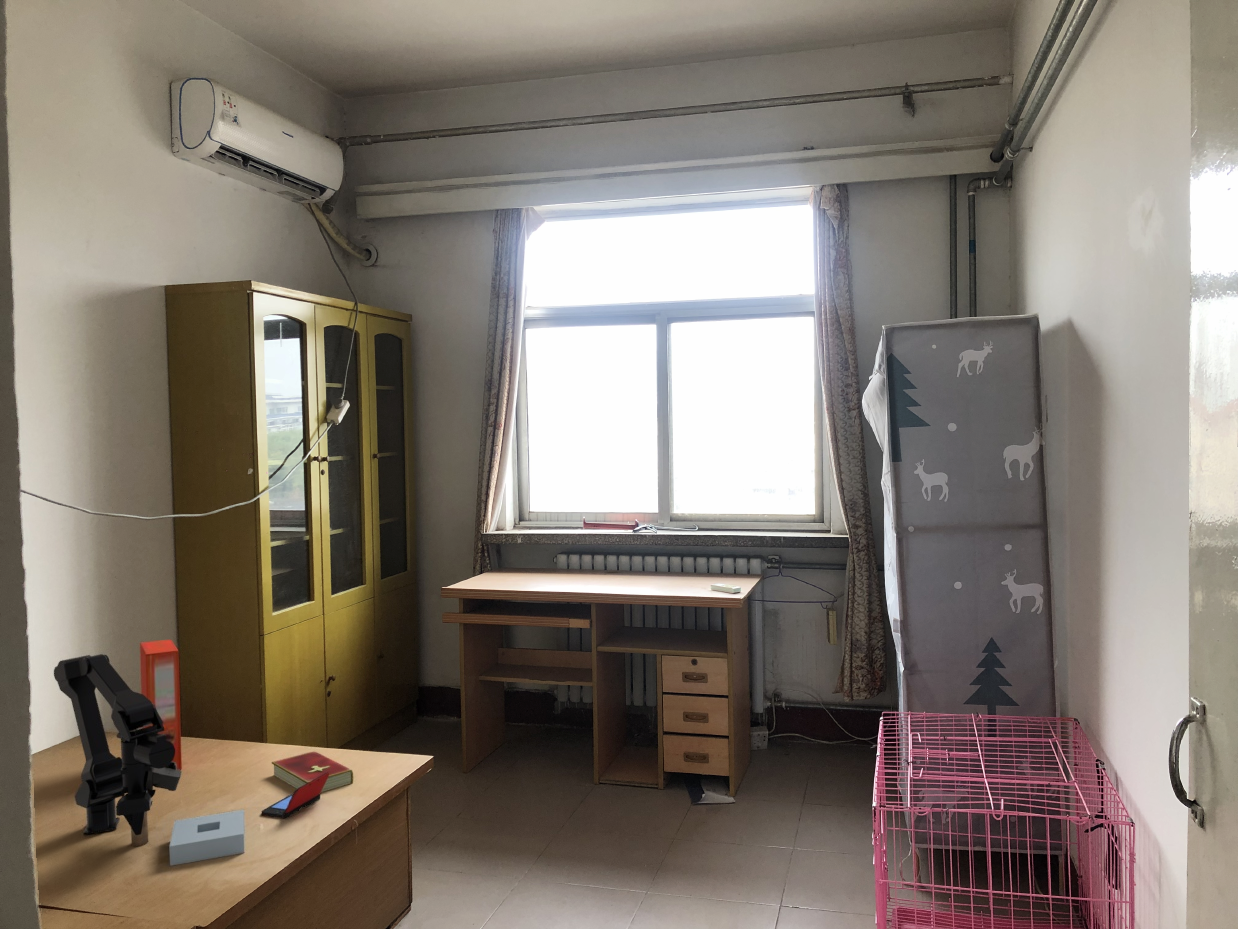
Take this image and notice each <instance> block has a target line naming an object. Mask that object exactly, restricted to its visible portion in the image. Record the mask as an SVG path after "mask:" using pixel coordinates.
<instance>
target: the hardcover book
mask: <svg viewBox="0 0 1238 929" xmlns="http://www.w3.org/2000/svg"><path fill="white" fill-rule="evenodd" d="M271 765H273V776H274V777H277V779H280V780H281V781H282V782H285V783H287V784H288V785H290V786H291V787H293V788H294V789H295V790H296V789H298V788H299V787H301V786H303V785H305V784H307V783H308V782H310V781H312V780H314V779H316V778H318V777H319V776H321V775H323V774H325V773H327V772H329V773H330V774H329V777H328V779H327V781H326V783H325V785H324V787H323V789H322V791H321V793H323V792H326V791H329V790H333V789H336V788H340V787H343V786H346V785H349V784H354V772H353V769H351V768H349V767H347V766H345V765H343V764H341V763H339V762H337V761H335V760H333V759H331V758H329V757H327V756H325V755H323V754H321V753H320V752H318V751H315V750H312V751H308V752H305V753H300V754H296V755H292V756H289V757H285V758H282V759H278V760H274V761H271Z"/></svg>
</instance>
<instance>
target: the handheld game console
mask: <svg viewBox="0 0 1238 929" xmlns="http://www.w3.org/2000/svg"><path fill="white" fill-rule="evenodd" d="M329 774H330V773H329V772H327V773H325V774H323V775H321V776H319V777H318V778H316V779H314V780H312V781H310V782H308V783H307V784H305V785H303V786H301V787H299V788H298V789H296V788H295V790H294V792H293V793H292V794H290V795H287V796H286V797H284V798H282V799H280V800H278V801H277V802H275V803H273V804H271V805H269V806H267V807H266V808H264V809H262V810H261V816H264V817H269V818H276V819H278V818H279V819H283V820H286V819H288V818H290V817H291V816H294V814H295V815H296V813H298V812H300V810H301V809H303V808H306V807H309V806H311V805H312V804H314V803H316V802H317V801H319V800H320V799H321V793H322V792H321V791H322V789H323V787H324V785H325V783H326V781H327V779H328V777H329Z"/></svg>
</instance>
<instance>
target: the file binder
mask: <svg viewBox="0 0 1238 929" xmlns="http://www.w3.org/2000/svg"><path fill="white" fill-rule="evenodd" d="M139 653H140V656H139V657H140V658H139V659H140V687H141V688H140V691H141V692H140V694H143V695H144V696H146V697H147V698H148V699H149V700H150V701H151V702H152V703H153V704H154V705H155V707H156V710H157V712H158V714H159V715H160V717H161V719H162V721H163V722H164V723H163V727H164V731H162V732H159V733H158V734H164V735H165V737H166V740H167V741H170V742H171V743H172V744H173V745H174V748H175V756H174V759H173V760H172V762H176V765H177V770H178V769H180V771H182V769H183V768H182V767H183V766H182V764H183V763H182V738H181V737H182V733H181V728H182V727H181V724H182V723H181V697H180V696H181V694H180V690H181V689H180V658H179V656H180V655H179V649H178V648H177V647H176V645H175V643H174V641H173V640H172V639H162V640H153V641H145V642H144V641H143V642H140V643H139ZM149 726H153V724H151V725H148V726H145V727H141V729H142V728H146V727H149Z"/></svg>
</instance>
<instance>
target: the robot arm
mask: <svg viewBox="0 0 1238 929" xmlns="http://www.w3.org/2000/svg"><path fill="white" fill-rule="evenodd" d="M110 661H111V660H110V659H109V656H108V655H107V654H102V653H101V654H96V655H90V654H87V655H83V656H82V655H81V656H77V657H72V658H67V659H62V660H59V661H58V662H57V666H55V667H54V669H53V676H54V680H55V681H56V682H57V685H58V687H59V691H61V693H63V694H64V695H65V696H67V697H68V698H69V699H70V701H71V704H72V705H71V706H72V709H73V713H74V718H75V721H76V725H77V729H78V733H79V737H80V738H79V739H80V741H81V746H82V750H83V754H84V757H85V758H84V759H85V762H84V763H85V764H84V766H83V769H82V772H81V773H80V779H81V784H80V786H79V787H78V788H77V791H76V792H75V794H74V799H75V805H76V806H80V807H81V808H84V809H85V810H86V811H85V812H86V825H85V828H84V830H83V832H82V834H83V835H90V834H97V833H104V832H109V831H114V830H115V831H116V830H117V828H118V825H119V822H120V819H121V818H120V817H119V816H121V817H122V816H123V817H124V818H125V820H126V822H127V823H128V825H129V826H130V829H131V828H132V830H133V832H134V833H135V835H141V833H142V827H143V821H144V815H145V812H147V813H148V812H149V811H150V810H151V807H152V804H153V802H154V801H153V800H152V798H153V797H154V796H155V795H156V791H157V790H156V789H154V787H155V788H158V789H164V790H168V791H170V792H175V791H176V790H177V788H178V784H179V782H180V779H181V777H182V770H180V769H178V770H177V765H176V762H172V760H173V759H174V756H175V748H174V745H173V744H172V743H171V742H170V741H167V740H166V737H165V735H164V734H158V733H159V732H162V731H164V727H163V723H164V722H163V721H162V719H161V717H160V715H159V714H158V712H157V710H156V707H155V705H154V704H153V703H152V702H151V701H150V700H149V699H148V698H147V697H146V696H144V695H143V694H141V692H140V693H139V692H136V691H133V690H132V689H131V688H130V686H129V685H128V684H127V683H126V681H125V680H124V679H123V677H122V676H121V675H120V674H119V673H118V672H117V670H116V669H115V668H114V666H113V665H112V664H111V663H110ZM96 689H97V690H98V691H99V694H100V695H101V696H102V697H103V698H104V700H105V701H106V702H107V703H108V704H109V706H110V708H111V715H110V718H111V721H113V722H112V723H113V725H114V727H115V728H116V730H117V731H118V733H117V734H116V738H117V739H119V740H120V750H121V751H120V753H121V755H120V756H121V757H120V756H118V757H116V756H115V755H114V754H113V753H111V750H110V747H109V744H108V743H109V742H108V739H107V735H106V732H105V731H106V730H105V728H104V724H103V719H102V716H101V711H100V707H99V703H98V699H97V695H96ZM151 724H153V726H149V727H146V728H142V727H145V726H148V725H151ZM118 798H119V799H118ZM116 799H118V801H117V803H116Z"/></svg>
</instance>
